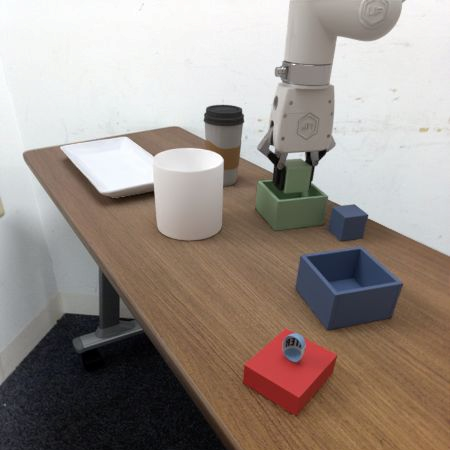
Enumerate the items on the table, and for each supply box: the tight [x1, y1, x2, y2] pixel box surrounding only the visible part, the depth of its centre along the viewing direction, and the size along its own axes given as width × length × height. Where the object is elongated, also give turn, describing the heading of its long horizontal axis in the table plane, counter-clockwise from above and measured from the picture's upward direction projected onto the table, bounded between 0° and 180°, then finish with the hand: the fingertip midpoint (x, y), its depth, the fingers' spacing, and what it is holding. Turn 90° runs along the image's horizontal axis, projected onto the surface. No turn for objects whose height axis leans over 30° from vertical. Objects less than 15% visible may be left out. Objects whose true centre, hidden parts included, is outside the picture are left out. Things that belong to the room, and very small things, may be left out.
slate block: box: [327, 203, 369, 242], centre depth 74 cm, size 4×4×4 cm
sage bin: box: [255, 179, 329, 232], centre depth 79 cm, size 10×10×6 cm
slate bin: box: [295, 246, 404, 331], centre depth 58 cm, size 10×10×6 cm
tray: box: [59, 136, 155, 198], centre depth 95 cm, size 17×32×4 cm, turn 31°
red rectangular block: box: [242, 328, 338, 417], centre depth 46 cm, size 8×7×6 cm
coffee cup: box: [203, 104, 245, 187], centre depth 90 cm, size 8×8×15 cm
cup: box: [152, 147, 224, 242], centre depth 73 cm, size 12×12×12 cm
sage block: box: [283, 158, 312, 193], centre depth 76 cm, size 4×4×4 cm
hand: (291, 185), depth 77 cm, fingers closed on sage block, 4 cm apart
